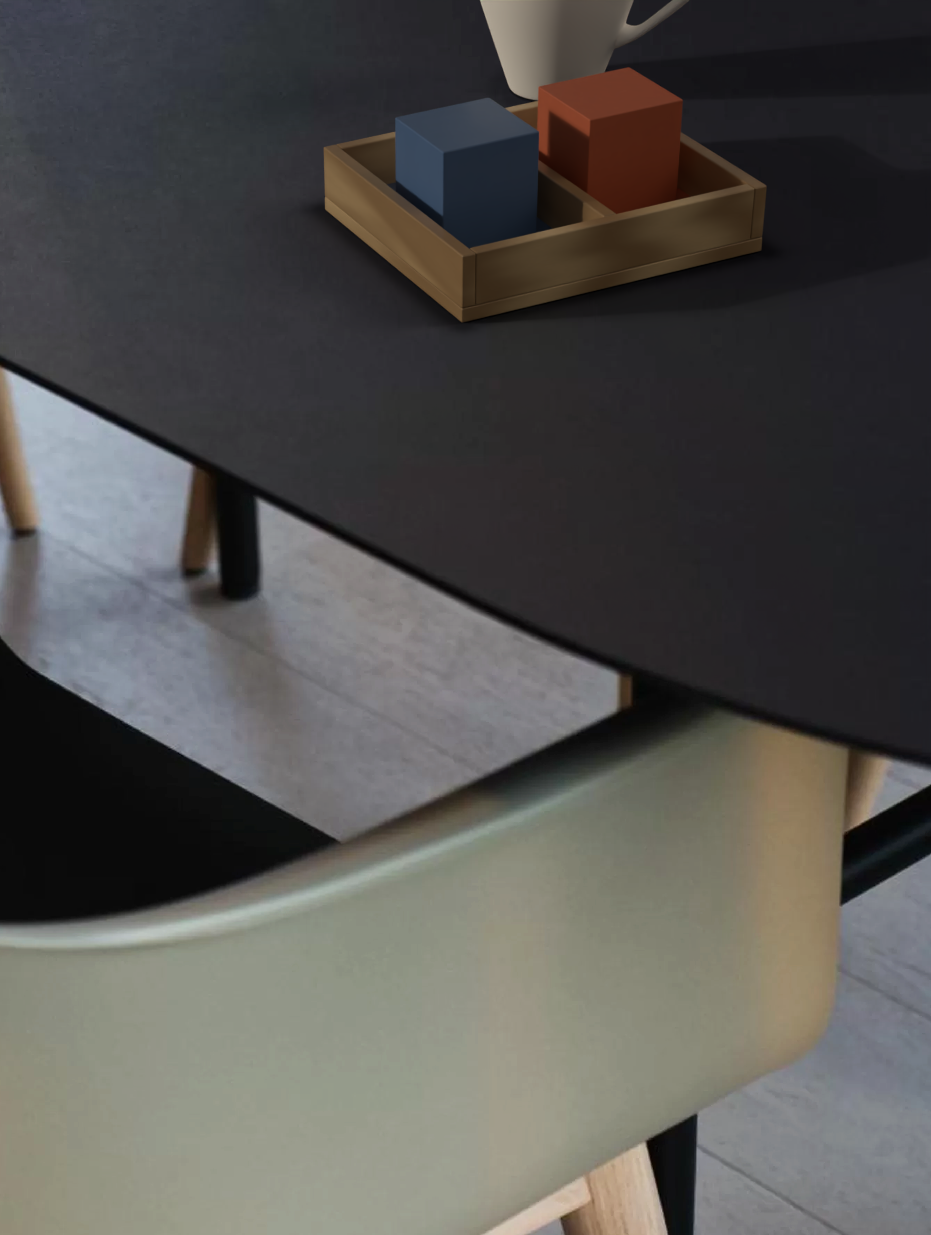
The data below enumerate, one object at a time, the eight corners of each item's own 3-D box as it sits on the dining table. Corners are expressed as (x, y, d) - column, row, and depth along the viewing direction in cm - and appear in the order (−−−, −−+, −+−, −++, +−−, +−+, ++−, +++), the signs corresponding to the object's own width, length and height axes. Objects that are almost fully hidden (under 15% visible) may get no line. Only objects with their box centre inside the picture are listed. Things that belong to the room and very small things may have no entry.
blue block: (395, 220, 106) (394, 116, 103) (487, 199, 107) (488, 96, 105) (442, 257, 103) (443, 152, 100) (536, 235, 104) (539, 131, 101)
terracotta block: (535, 188, 108) (538, 86, 105) (623, 168, 109) (629, 66, 106) (585, 224, 105) (590, 120, 102) (676, 203, 106) (683, 99, 103)
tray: (604, 147, 113) (607, 85, 111) (761, 251, 104) (767, 185, 102) (324, 209, 109) (322, 146, 108) (461, 323, 100) (462, 256, 98)
